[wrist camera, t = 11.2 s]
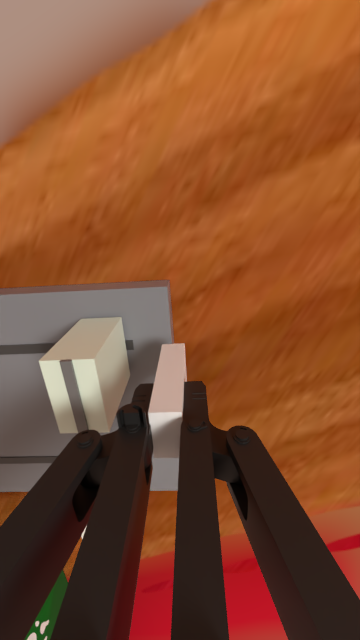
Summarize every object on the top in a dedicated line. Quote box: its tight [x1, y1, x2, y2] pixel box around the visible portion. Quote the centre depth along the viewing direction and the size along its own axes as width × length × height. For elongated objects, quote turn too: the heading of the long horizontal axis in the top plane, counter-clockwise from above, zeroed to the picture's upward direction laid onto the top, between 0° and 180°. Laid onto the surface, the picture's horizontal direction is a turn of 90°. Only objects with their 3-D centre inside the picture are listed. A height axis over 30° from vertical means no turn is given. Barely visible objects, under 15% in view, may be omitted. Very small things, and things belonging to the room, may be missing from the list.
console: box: [0, 280, 179, 492], centre depth 24 cm, size 22×21×2 cm
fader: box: [39, 317, 130, 433], centre depth 18 cm, size 3×5×6 cm, turn 3°
